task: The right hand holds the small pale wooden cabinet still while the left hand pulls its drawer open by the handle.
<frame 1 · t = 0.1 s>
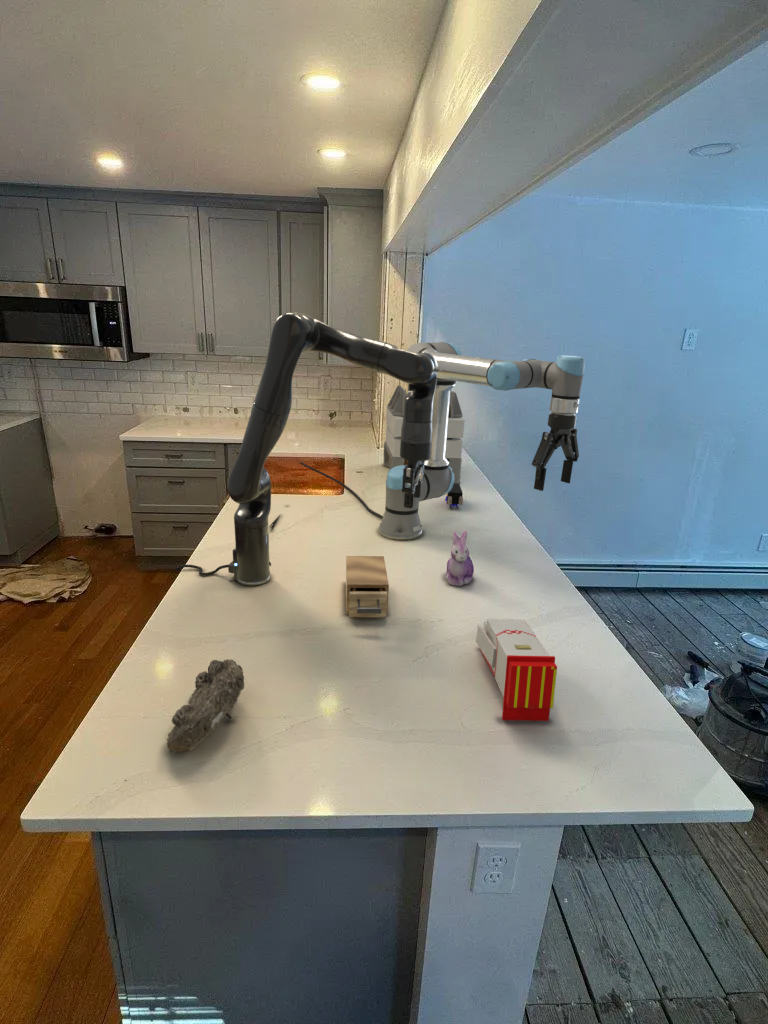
left hand: (412, 502, 142), 29 cm above the counter, tool pointing down, fingers open, 8 cm apart
right hand: (552, 485, 166), 28 cm above the counter, tool pointing down, fingers open, 13 cm apart
figurine character: (452, 505, 232), on the counter
cabinet: (365, 598, 155), on the counter
fossil: (212, 717, 108), on the counter
white crate: (419, 473, 275), on the counter
toy: (508, 678, 123), on the counter
drawer: (367, 595, 147), point 4 cm above the counter, slide at 1.8 cm
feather: (279, 518, 209), on the counter
figurine: (459, 579, 168), on the counter
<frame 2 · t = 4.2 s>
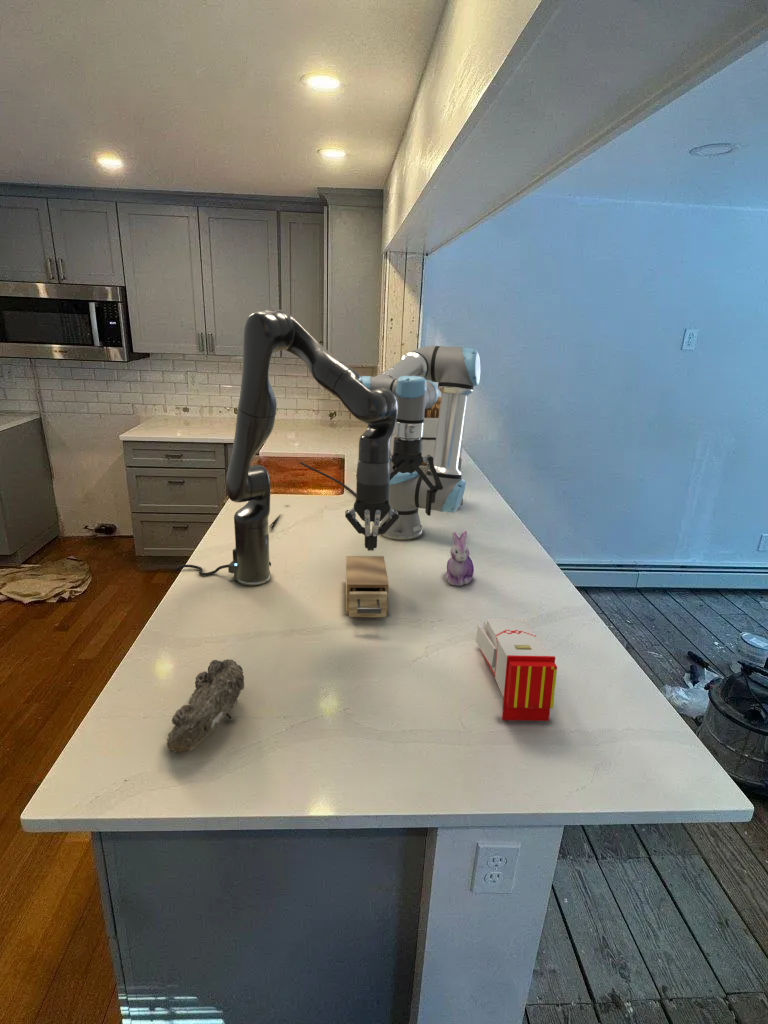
left hand: (370, 549, 134), 21 cm above the counter, tool pointing down, fingers closed
right hand: (403, 514, 154), 22 cm above the counter, tool pointing down, fingers open, 13 cm apart
nothing on the counter moved.
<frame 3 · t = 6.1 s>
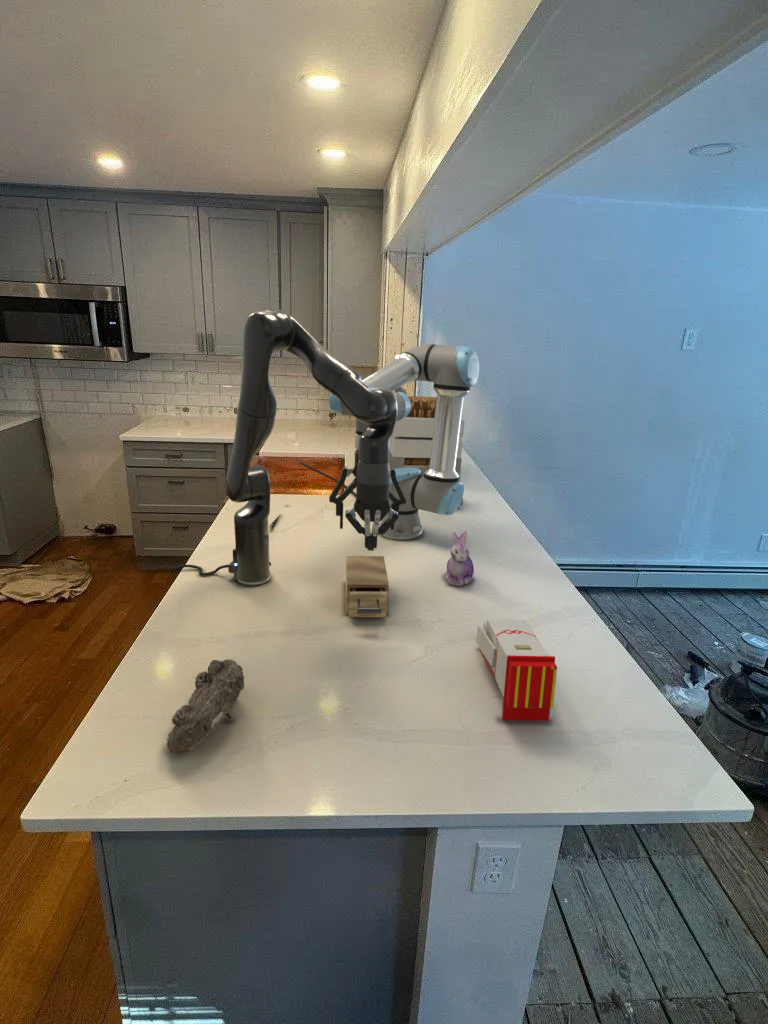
left hand: (370, 549, 134), 21 cm above the counter, tool pointing down, fingers closed
right hand: (366, 527, 152), 19 cm above the counter, tool pointing down, fingers open, 13 cm apart
nothing on the counter moved.
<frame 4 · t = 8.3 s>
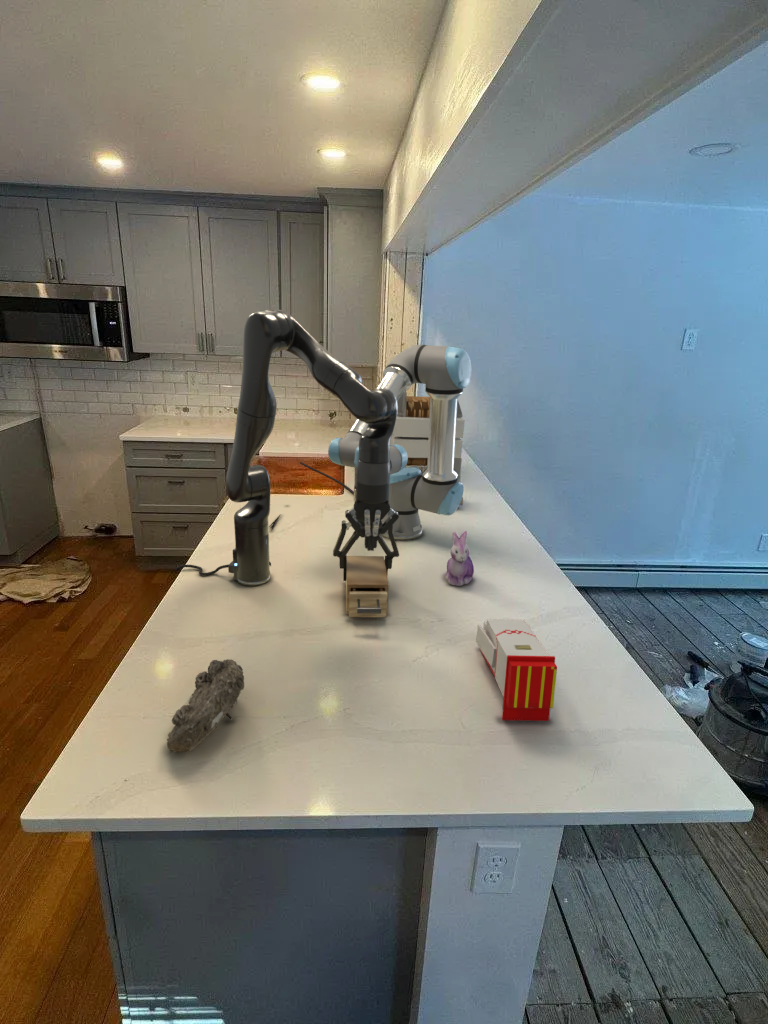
left hand: (370, 549, 134), 21 cm above the counter, tool pointing down, fingers closed
right hand: (365, 578, 157), 4 cm above the counter, tool pointing down, fingers closed on cabinet, 11 cm apart
cabinet: (365, 598, 155), on the counter, touching right hand
everything else where it was.
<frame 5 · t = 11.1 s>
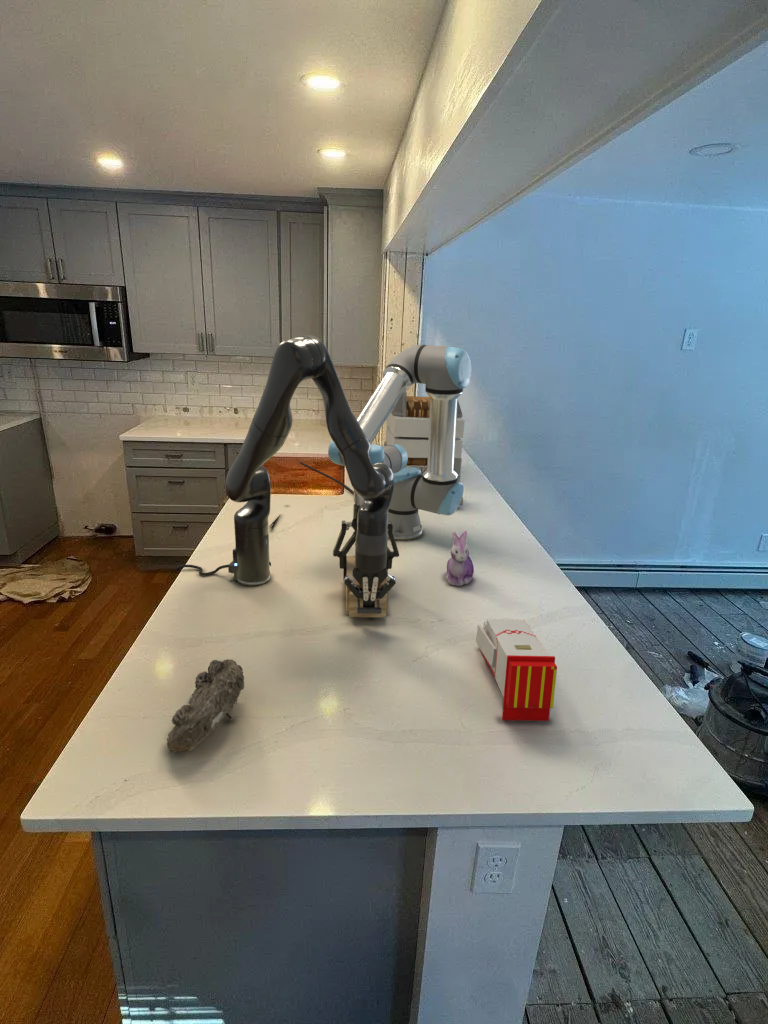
left hand: (368, 612, 139), 4 cm above the counter, tool pointing down, fingers closed
right hand: (365, 578, 157), 4 cm above the counter, tool pointing down, fingers closed on cabinet, 11 cm apart
cabinet: (365, 598, 155), on the counter, touching right hand
drawer: (367, 595, 147), point 4 cm above the counter, slide at 1.8 cm, touching left hand
everything else where it was.
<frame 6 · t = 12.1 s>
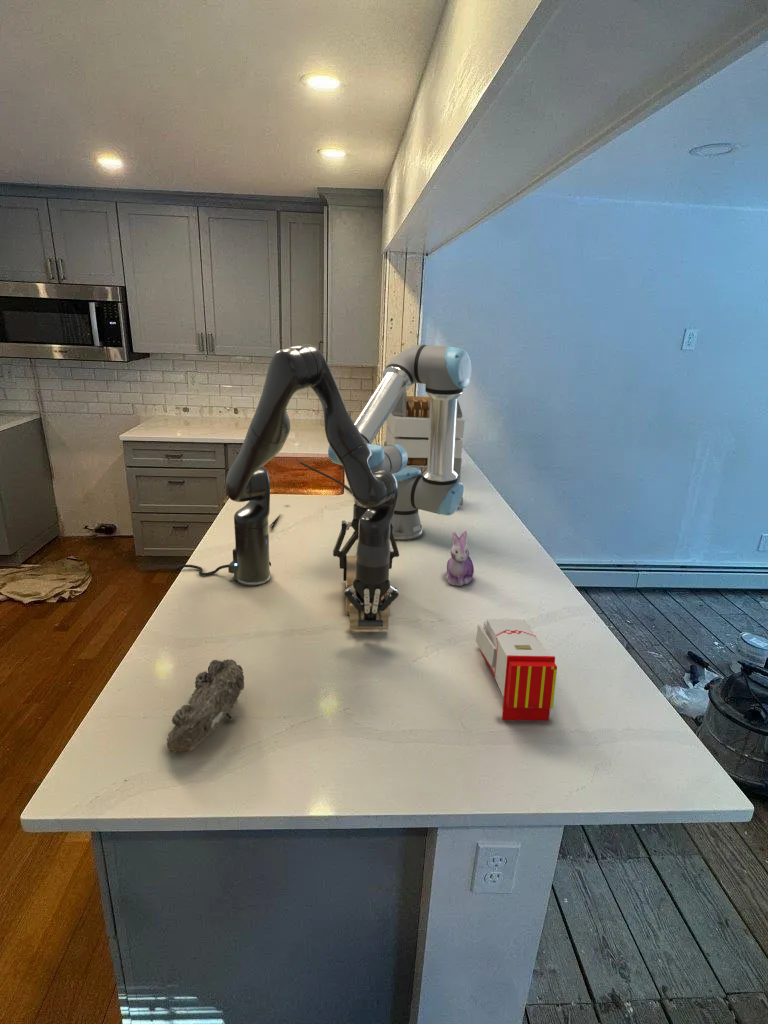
left hand: (369, 624, 134), 4 cm above the counter, tool pointing down, fingers closed
right hand: (365, 578, 157), 4 cm above the counter, tool pointing down, fingers closed on cabinet, 11 cm apart
cabinet: (365, 598, 155), on the counter, touching right hand
drawer: (368, 606, 142), point 4 cm above the counter, slide at 7.6 cm, touching left hand
everything else where it was.
when the right hand's fingers open (4 cm above the counter, at t = 13.9 s): cabinet stays where it is, on the counter.
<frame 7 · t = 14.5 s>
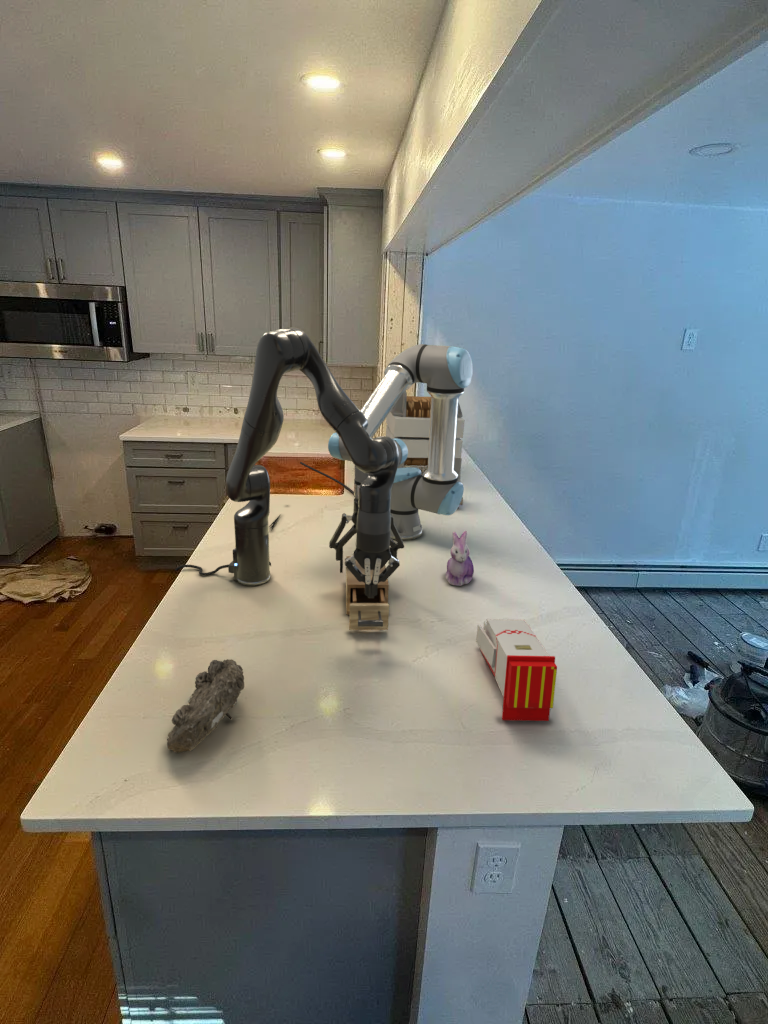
left hand: (370, 596, 131), 12 cm above the counter, tool pointing down, fingers closed
right hand: (365, 570, 157), 6 cm above the counter, tool pointing down, fingers open, 13 cm apart
cabinet: (365, 598, 155), on the counter
drawer: (368, 607, 142), point 4 cm above the counter, slide at 7.7 cm
everything else where it was.
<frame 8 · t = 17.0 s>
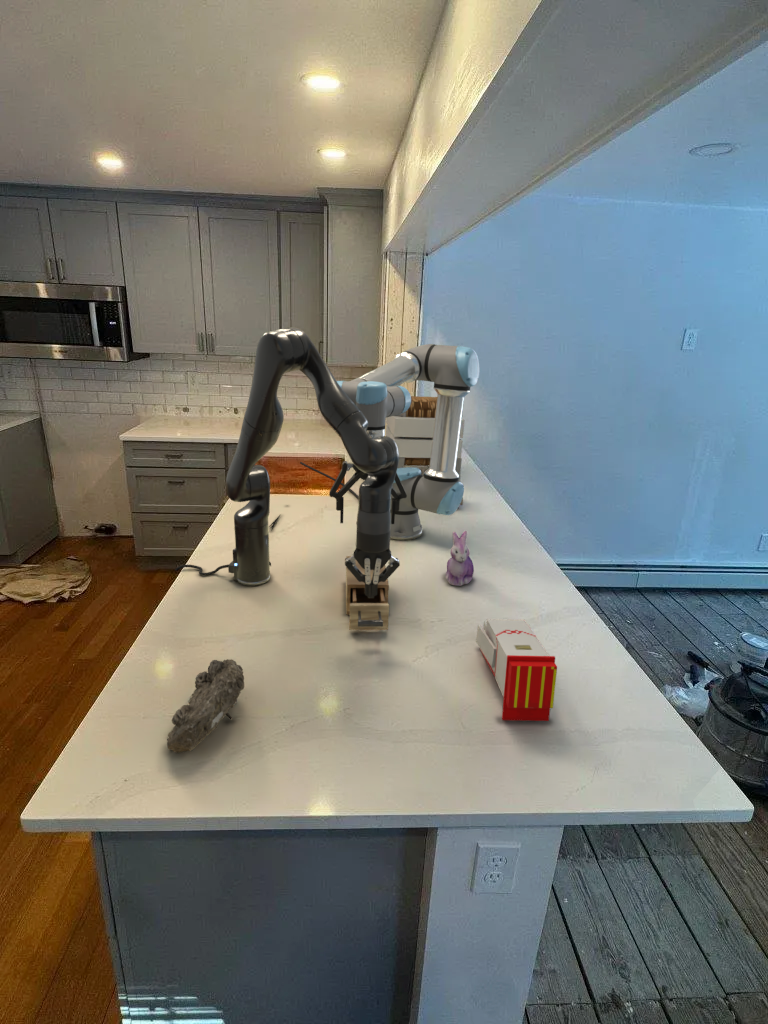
left hand: (370, 596, 131), 12 cm above the counter, tool pointing down, fingers closed
right hand: (367, 522, 152), 21 cm above the counter, tool pointing down, fingers open, 13 cm apart
nothing on the counter moved.
at the end: drawer slide at 7.7 cm; cabinet tilted 0°; cabinet never tilted more than 1° during the clip; cabinet moved 0.0 cm from its start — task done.
